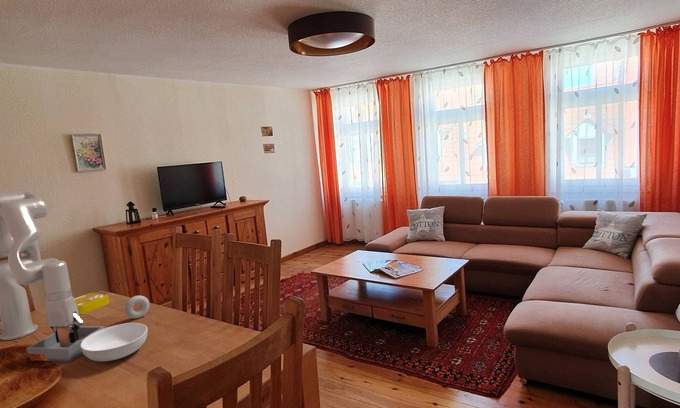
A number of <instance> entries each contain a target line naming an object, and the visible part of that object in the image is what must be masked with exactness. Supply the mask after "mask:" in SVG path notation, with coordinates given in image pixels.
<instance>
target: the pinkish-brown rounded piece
mask: <svg viewBox="0 0 680 408" xmlns="http://www.w3.org/2000/svg"><path fill="white" fill-rule="evenodd" d="M71 326H72V328H73V327H74V326H73V325H71ZM57 333H58V338H59V343H60V346H61V347H65V346H69V345H72V344H74V343H76V342H77V341H75V342H74V343H71V342H70V337H69V333H70V331H69V329H68V327H57Z"/></svg>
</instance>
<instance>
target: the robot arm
mask: <svg viewBox="0 0 680 408" xmlns="http://www.w3.org/2000/svg"><path fill="white" fill-rule="evenodd" d="M48 213H49V209H48V205H47V204H46V202H45V201H44V199H42V198H41V197H40V196H38V195H36V194H34V193H32V192H31V191H27V190H12V191H4V192H1V191H0V259H2V258H7V259H4V260H1V261H0V322H1V323H0V331H1V333H0V340H1V341H10V340H11V341H12V340H15V339H20V338H23V337H26V336H28V335H31V334H33V333H35V332H36V331H38V329H39V326H38V324H36V323H33V320H32V314H31V310H30V303H29V298H28V294H27V291H26V289H25V287H23V286H30V285H33V284H36V283H41V282H43V286H44V290H45V297H46V300H45V305H44V306H45V307H44V309H45V310H44V311H45V319H46V322H45V323H46V325H47V326H48V327H50V329H52V332H53V334H54V333H55V336H56V341H57V343H59V338H58V333H57V327H68V329H69V331H70V333H69V337H70V342H71V343H74V342H75V341H77V340H78V339H79V336H78V331H77V330H78V329H79V327H80V326H82V325H83V323H84V321H83V320H82V319H81V318H80V315H79V312H78V308H77V305H76V302H75V297H74V296H73V291H72V287H71V286H72V285H71V281H70V275H69V270H68V269H69V268H68V265H67V262H66V261H64V260H59V259H58V258H54V257H50V258H45V259H42V258H41V252H40V246H39V242H38V240H39V238H40V237H41V235H42V232H41V230H40V228H39V226H38V225H37V222H36V220H39V219H44V218H45V217H47V215H48ZM21 254H22V256H20V255H21ZM71 325H73V326H74V327H73V328H72V326H71Z"/></svg>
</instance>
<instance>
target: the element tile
mask: <svg viewBox="0 0 680 408" xmlns="http://www.w3.org/2000/svg"><path fill="white" fill-rule="evenodd" d="M74 299H75V302H76V305H77V308H78V312H79V316H80V315H84V314H87V313H90V312H92V311H94V310H97V309H100V308H101V306H102V307H103V306H106V305H108V304H110V299H109V294H102V293H97V292H89V293H86V294H83V295H81V296H77V297H74Z"/></svg>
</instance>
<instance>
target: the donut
mask: <svg viewBox="0 0 680 408" xmlns="http://www.w3.org/2000/svg"><path fill="white" fill-rule="evenodd" d="M136 304H140V308H139V309H137V310H135V309H134V307H135V306H136ZM149 308H150V300H149V299H148V298H147V297H146V296H143V295H134V296H132V297H131V298H129V299H128V300H127V302H125V305H124V313H125V315H126V316H127V317H128V318H131V319H140V318H142V317H144V316H145V315H146V314H147V312H149Z"/></svg>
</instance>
